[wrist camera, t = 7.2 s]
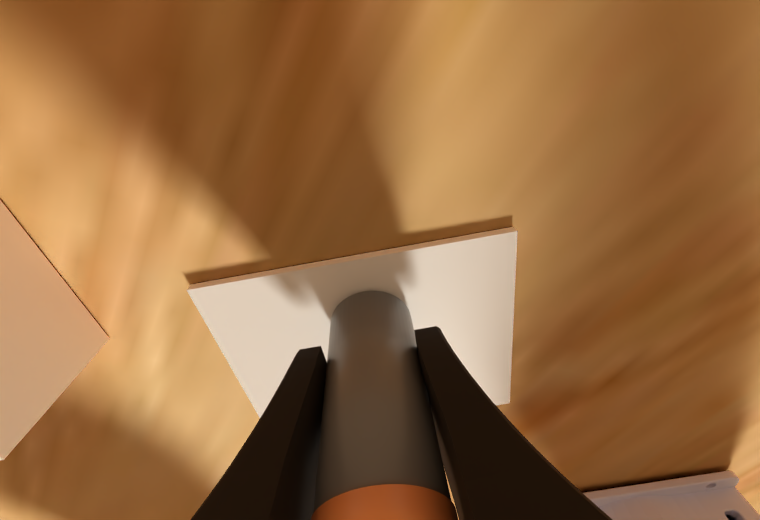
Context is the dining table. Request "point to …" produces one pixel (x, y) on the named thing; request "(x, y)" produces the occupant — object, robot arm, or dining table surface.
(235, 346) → the paper
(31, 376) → the rectangular block
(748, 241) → the dining table surface
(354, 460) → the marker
